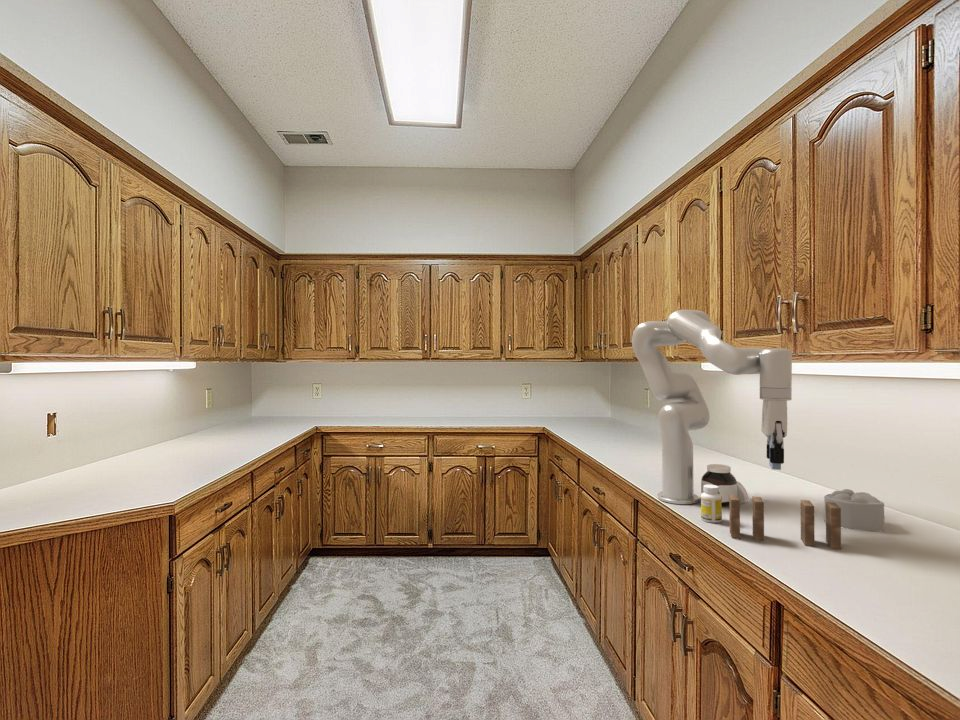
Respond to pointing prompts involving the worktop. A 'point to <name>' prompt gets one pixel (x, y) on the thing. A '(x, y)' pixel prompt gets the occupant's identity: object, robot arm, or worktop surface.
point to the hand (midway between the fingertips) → (775, 460)
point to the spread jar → (723, 483)
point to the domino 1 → (734, 516)
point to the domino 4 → (833, 525)
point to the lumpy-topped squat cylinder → (857, 510)
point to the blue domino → (774, 465)
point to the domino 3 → (807, 523)
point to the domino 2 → (758, 518)
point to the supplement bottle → (711, 504)
